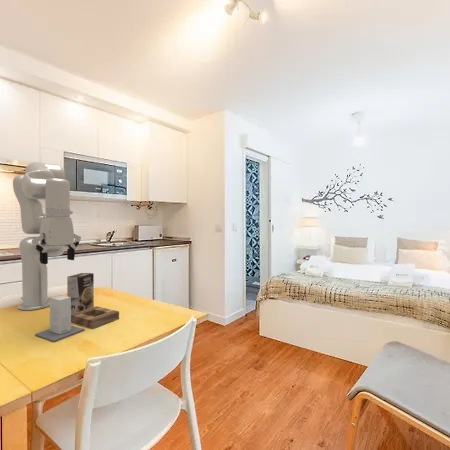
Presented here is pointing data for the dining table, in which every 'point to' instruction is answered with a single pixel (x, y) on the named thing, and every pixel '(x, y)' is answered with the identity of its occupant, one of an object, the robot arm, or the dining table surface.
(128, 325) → the dining table surface
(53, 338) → the coaster
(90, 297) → the coffee box
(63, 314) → the skincare box
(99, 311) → the pocket block
